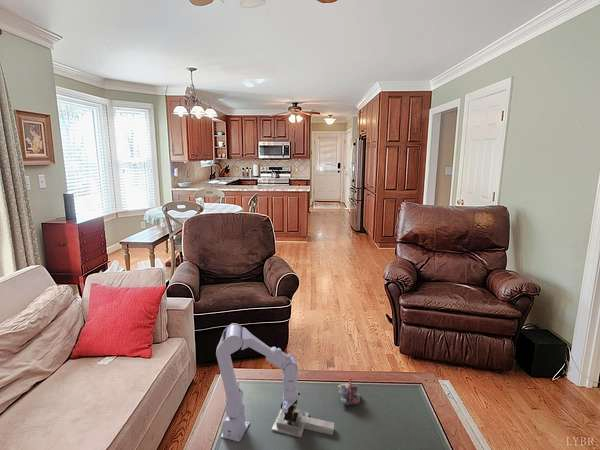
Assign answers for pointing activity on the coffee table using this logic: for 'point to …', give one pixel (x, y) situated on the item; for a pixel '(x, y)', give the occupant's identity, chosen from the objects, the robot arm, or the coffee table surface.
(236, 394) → the robot arm
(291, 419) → the pin
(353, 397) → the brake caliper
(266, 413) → the coffee table surface
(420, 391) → the coffee table surface
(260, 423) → the coffee table surface
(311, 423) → the white stepped square fixture
